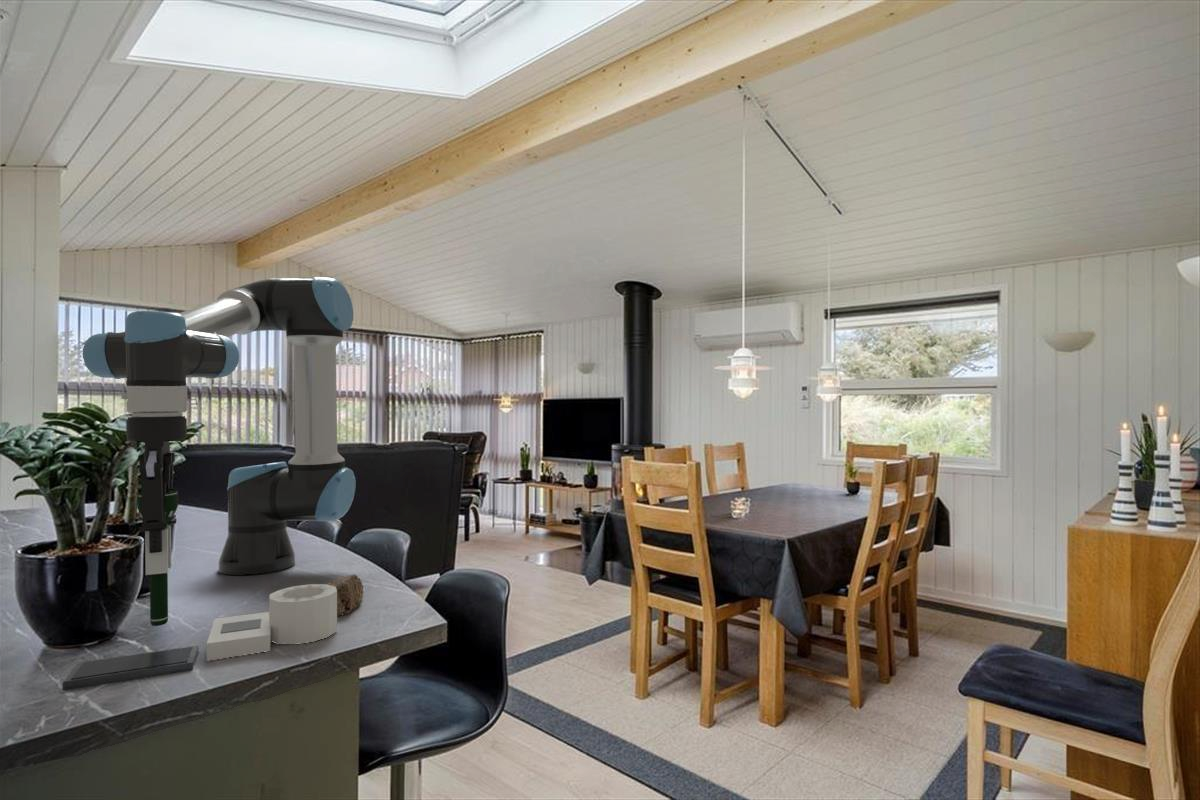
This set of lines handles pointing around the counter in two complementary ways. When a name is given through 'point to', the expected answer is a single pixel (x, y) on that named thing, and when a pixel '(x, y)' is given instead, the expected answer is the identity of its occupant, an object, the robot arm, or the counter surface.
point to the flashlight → (161, 580)
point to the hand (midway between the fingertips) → (158, 570)
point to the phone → (131, 667)
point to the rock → (347, 593)
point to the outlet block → (277, 622)
